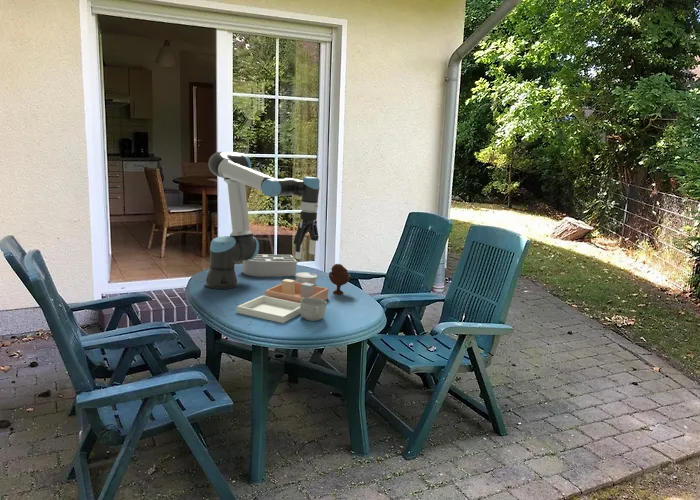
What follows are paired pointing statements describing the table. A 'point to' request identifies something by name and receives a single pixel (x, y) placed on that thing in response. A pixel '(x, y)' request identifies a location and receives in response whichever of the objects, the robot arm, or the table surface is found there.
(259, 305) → the parts tray
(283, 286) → the tall cardboard carton
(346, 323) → the table surface
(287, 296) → the orange square tray
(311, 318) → the teacup
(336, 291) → the ice cream bowl
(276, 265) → the grey compartment organizer
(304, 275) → the ramekin
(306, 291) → the pale grey box block
